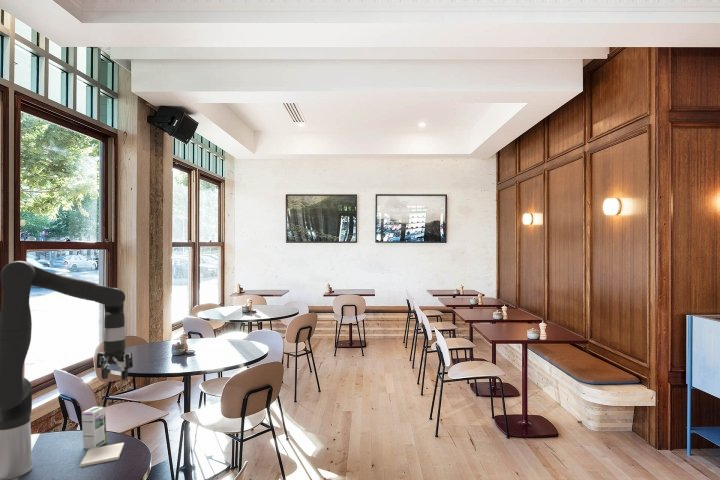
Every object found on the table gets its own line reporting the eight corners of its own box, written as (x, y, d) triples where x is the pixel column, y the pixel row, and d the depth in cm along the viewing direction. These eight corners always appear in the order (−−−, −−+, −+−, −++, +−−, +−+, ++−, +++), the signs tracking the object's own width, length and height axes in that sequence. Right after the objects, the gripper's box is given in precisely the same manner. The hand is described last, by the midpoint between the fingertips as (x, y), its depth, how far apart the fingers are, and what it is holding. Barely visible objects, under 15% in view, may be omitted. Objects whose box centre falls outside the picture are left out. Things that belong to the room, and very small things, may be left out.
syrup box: (95, 449, 160) (93, 412, 160) (82, 448, 161) (81, 411, 161) (107, 442, 166) (105, 406, 166) (94, 441, 167) (93, 406, 167)
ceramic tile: (80, 467, 147) (80, 464, 147) (88, 451, 159) (88, 449, 159) (118, 459, 152) (118, 456, 152) (124, 444, 163) (124, 442, 163)
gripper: (91, 340, 161) (91, 381, 160) (123, 340, 158) (123, 383, 158) (106, 335, 168) (106, 375, 168) (137, 336, 166) (137, 376, 165)
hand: (114, 379), depth 163 cm, fingers open, 8 cm apart
